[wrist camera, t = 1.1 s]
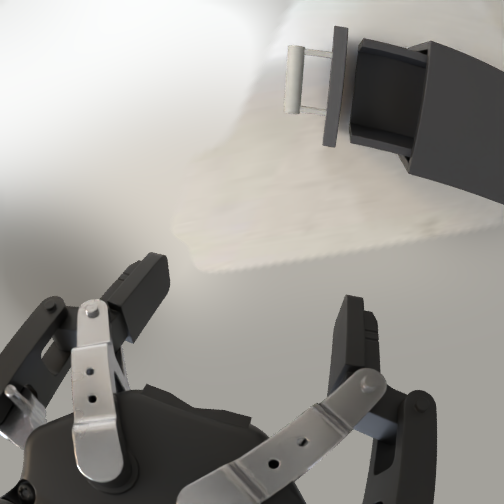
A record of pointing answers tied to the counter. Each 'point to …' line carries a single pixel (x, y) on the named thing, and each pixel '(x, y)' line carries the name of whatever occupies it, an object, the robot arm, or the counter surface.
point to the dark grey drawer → (366, 92)
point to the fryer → (460, 123)
